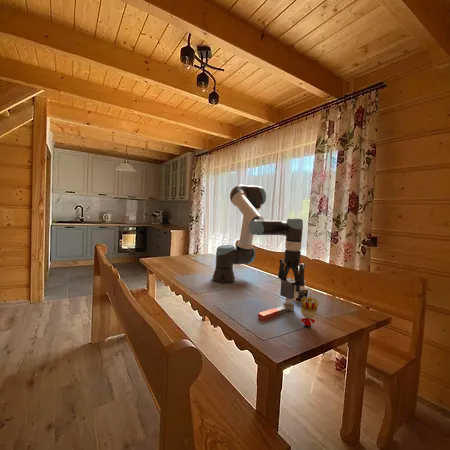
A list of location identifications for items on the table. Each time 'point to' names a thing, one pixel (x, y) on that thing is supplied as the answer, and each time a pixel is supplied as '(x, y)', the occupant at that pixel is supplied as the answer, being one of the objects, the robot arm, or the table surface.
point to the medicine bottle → (302, 293)
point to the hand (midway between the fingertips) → (289, 295)
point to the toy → (308, 310)
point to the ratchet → (277, 311)
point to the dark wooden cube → (287, 288)
